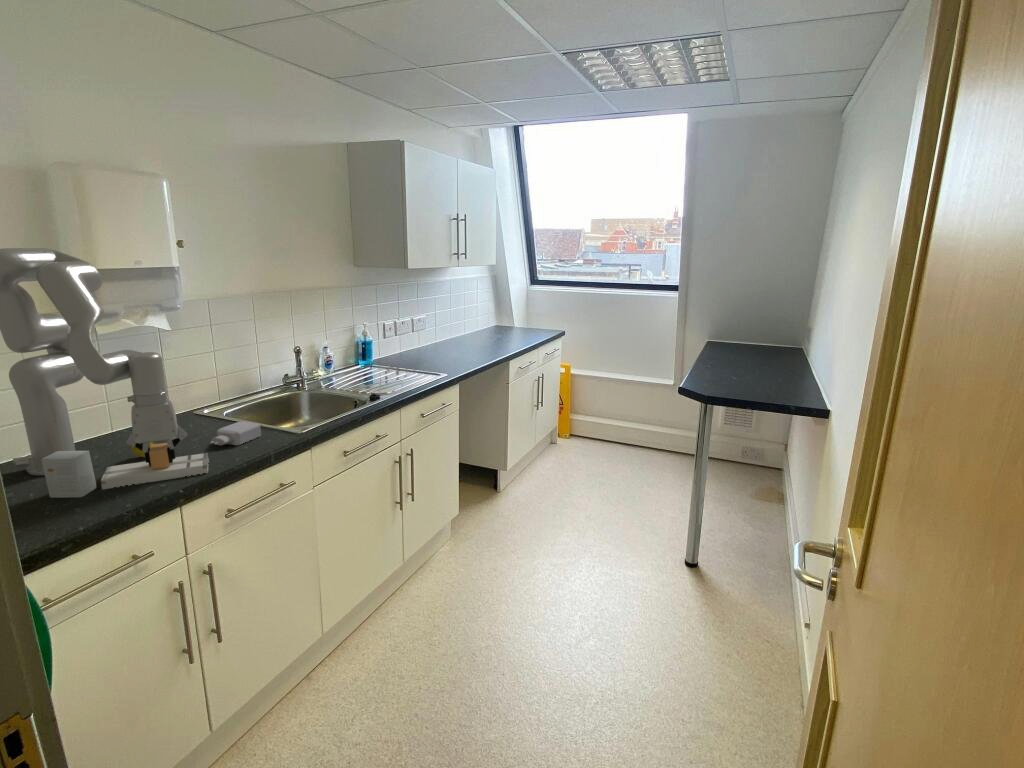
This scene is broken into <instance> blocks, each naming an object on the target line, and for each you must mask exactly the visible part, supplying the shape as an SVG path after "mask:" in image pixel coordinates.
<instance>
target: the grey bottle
mask: <svg viewBox="0 0 1024 768" xmlns="http://www.w3.org/2000/svg"><path fill="white" fill-rule="evenodd" d="M261 436H262V430H261V425H260V424H259V423H257V422H251V421H250V422H249V421H245V420H243V421H240V420H239V421H238V422H237V421H236V422H235V423H232V424H228V425H226V426H223V427H221V428H218V429H216V436H215V437H213V438H211V440H210V442H209V444H214V445H218V446H223V445H232V446H241V445H244V444H245V442H246V443H248V442H250V440H251V441H253V440H255V439H257V437H258V438H260V437H261ZM243 443H244V444H243Z"/></svg>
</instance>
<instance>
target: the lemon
mask: <svg viewBox="0 0 1024 768" xmlns="http://www.w3.org/2000/svg"><path fill="white" fill-rule="evenodd" d="M153 444H154V442H149V448H150V447H151V445H153ZM130 449H131V452H132V453H133V454H134V455H136V456H137V457H141V458H145V453H143V451H141V450H140V449H138V448H136V447H135V446H132V445H130Z"/></svg>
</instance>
